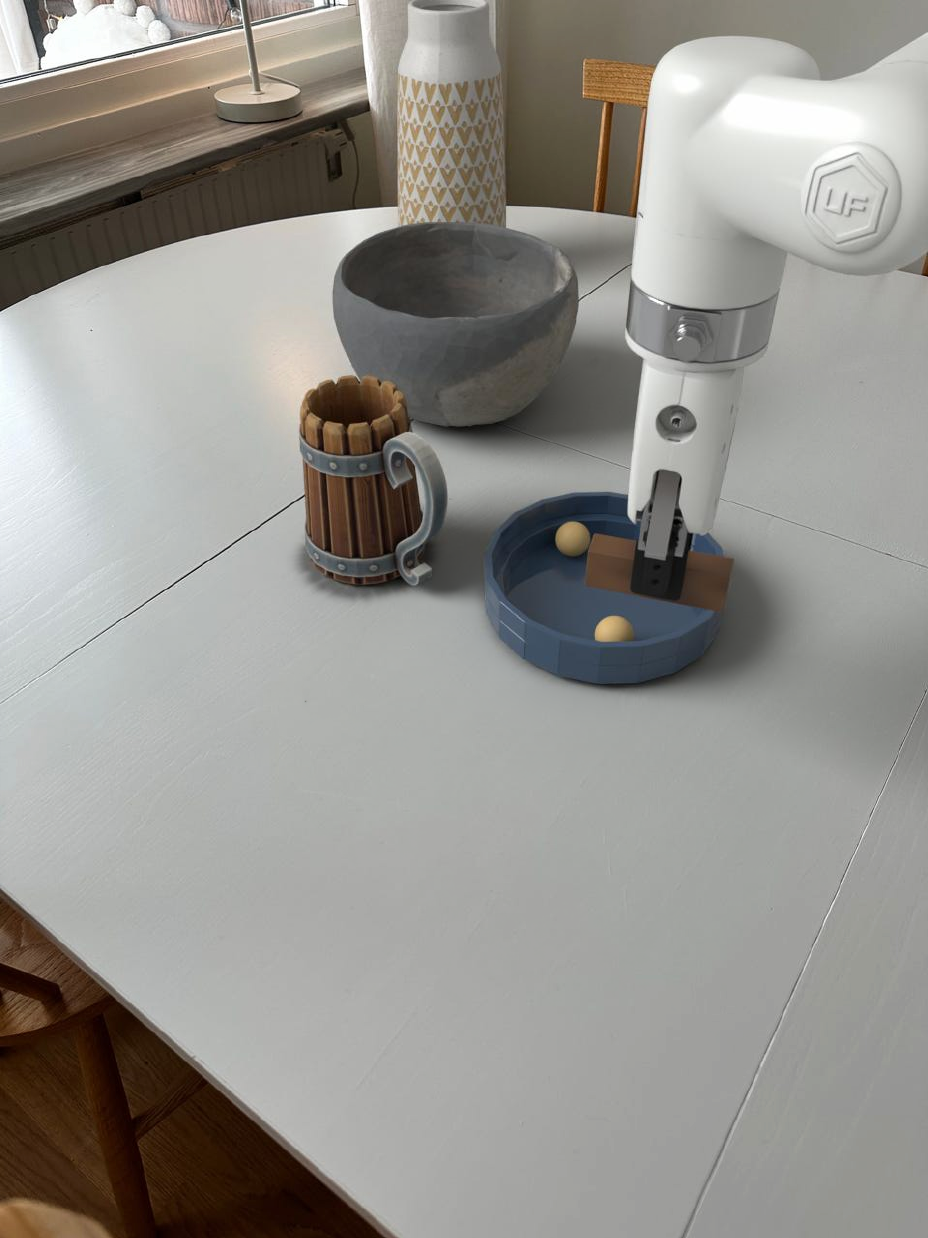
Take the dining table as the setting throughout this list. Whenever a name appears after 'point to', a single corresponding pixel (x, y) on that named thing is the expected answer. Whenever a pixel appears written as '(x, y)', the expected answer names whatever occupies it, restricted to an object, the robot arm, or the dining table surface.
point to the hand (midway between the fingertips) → (658, 579)
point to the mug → (367, 483)
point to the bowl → (457, 317)
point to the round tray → (584, 597)
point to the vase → (450, 117)
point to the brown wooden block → (699, 590)
